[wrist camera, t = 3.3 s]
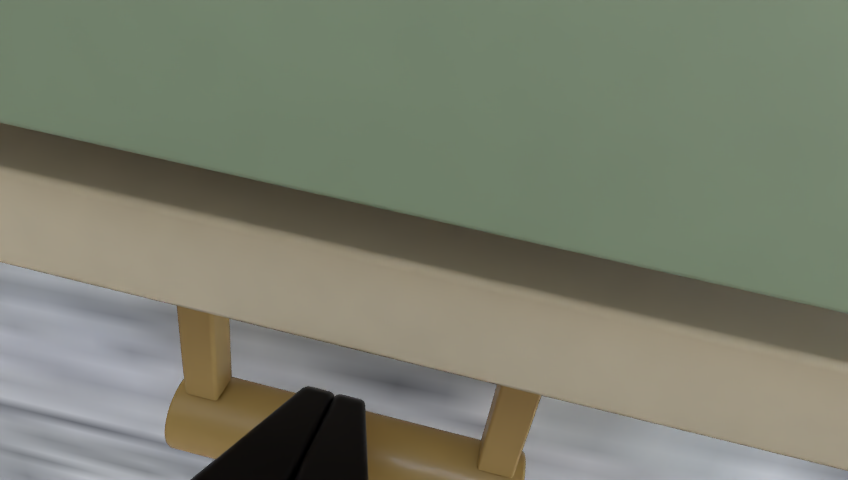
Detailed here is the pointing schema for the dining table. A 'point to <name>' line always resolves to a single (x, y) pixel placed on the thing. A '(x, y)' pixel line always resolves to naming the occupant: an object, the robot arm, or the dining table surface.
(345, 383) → the dining table surface
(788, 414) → the drawer
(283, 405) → the robot arm
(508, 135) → the cabinet
